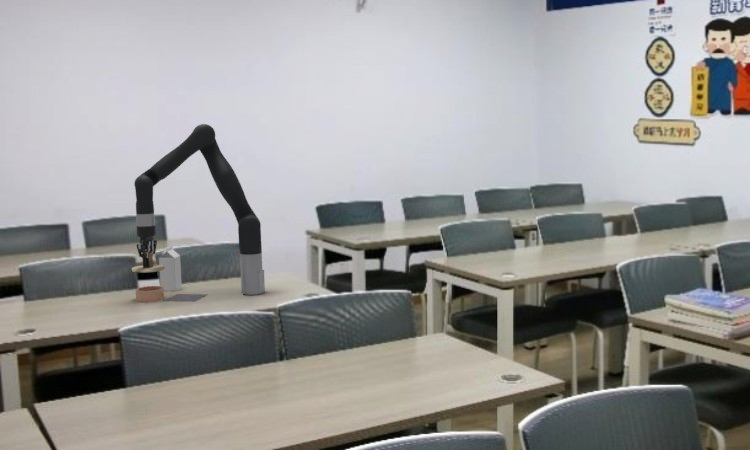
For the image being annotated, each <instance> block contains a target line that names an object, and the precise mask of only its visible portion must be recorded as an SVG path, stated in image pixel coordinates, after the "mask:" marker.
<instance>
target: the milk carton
mask: <svg viewBox="0 0 750 450" xmlns="http://www.w3.org/2000/svg"><path fill="white" fill-rule="evenodd" d="M161 254H162V255H160V256H159V258H158V265H164V268H165V269H164V270H161V271H159V283H160V284H159V286H161V287H163V289H164V292H178V291H180V290H181V289H182V288H183V283H182V266H181V264H182V263H181V255H180V254H179V253H178V252H177V251H175V250H174V249H173V246H170V247H167V248H165V250H163V251H162V252H161Z"/></svg>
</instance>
